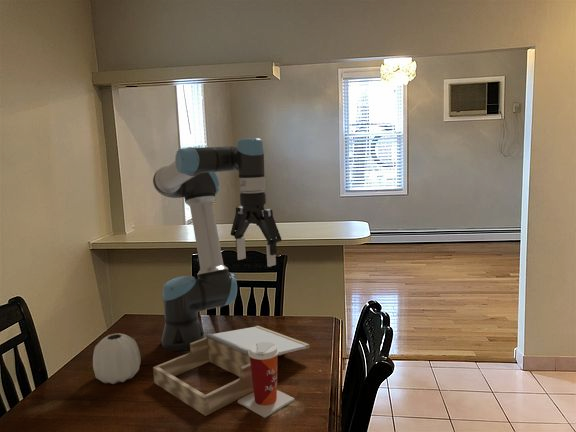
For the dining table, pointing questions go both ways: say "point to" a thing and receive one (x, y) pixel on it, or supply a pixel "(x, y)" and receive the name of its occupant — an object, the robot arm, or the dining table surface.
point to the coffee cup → (264, 372)
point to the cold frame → (200, 355)
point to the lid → (257, 340)
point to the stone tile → (266, 409)
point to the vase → (116, 358)
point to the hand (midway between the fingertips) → (256, 262)
